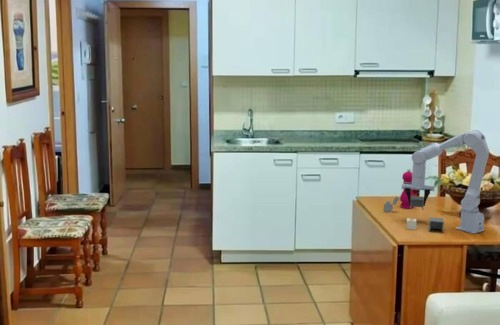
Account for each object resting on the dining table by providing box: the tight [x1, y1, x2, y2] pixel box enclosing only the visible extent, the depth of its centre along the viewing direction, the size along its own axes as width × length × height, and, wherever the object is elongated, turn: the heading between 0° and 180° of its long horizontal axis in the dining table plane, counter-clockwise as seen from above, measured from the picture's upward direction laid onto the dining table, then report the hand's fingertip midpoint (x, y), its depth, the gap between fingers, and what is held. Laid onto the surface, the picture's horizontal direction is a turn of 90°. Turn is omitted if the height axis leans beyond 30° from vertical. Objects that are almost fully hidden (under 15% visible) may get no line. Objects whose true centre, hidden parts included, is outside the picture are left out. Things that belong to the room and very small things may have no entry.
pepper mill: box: [399, 168, 414, 210], centre depth 301 cm, size 7×7×20 cm
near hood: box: [428, 217, 445, 234], centre depth 263 cm, size 6×6×5 cm
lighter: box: [383, 196, 400, 213], centre depth 293 cm, size 7×2×8 cm, turn 86°
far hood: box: [409, 195, 424, 211], centre depth 276 cm, size 6×6×5 cm
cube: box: [406, 217, 417, 231], centre depth 266 cm, size 4×4×4 cm
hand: (416, 205), depth 276 cm, fingers closed on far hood, 6 cm apart
